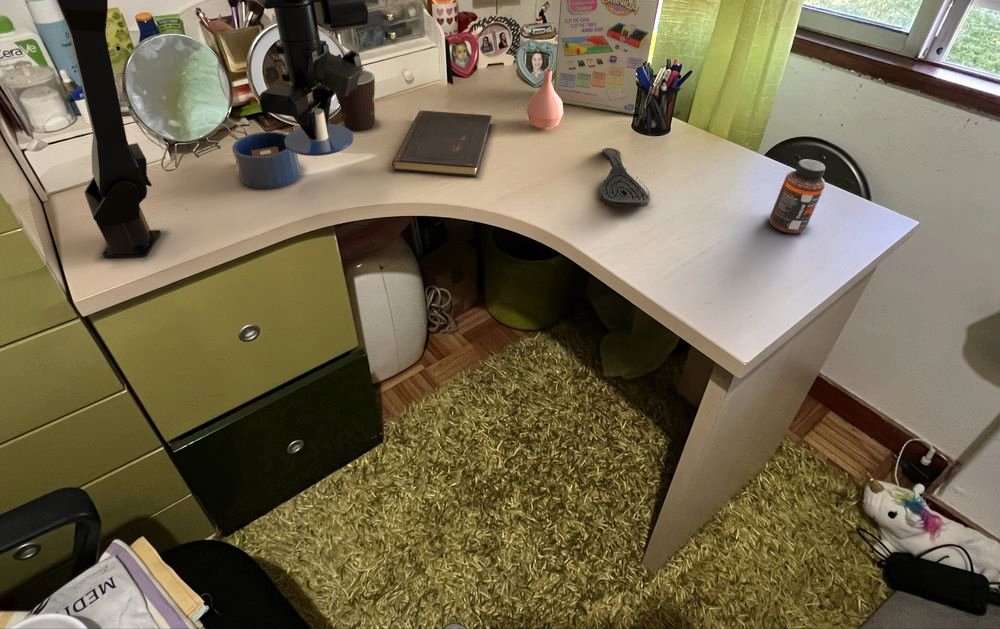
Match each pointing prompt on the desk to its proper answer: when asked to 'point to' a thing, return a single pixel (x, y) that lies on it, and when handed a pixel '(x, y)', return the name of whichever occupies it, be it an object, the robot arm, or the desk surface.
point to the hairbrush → (621, 184)
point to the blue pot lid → (319, 138)
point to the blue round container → (266, 161)
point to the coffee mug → (359, 104)
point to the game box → (604, 51)
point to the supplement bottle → (798, 197)
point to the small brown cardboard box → (265, 152)
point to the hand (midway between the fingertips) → (318, 135)
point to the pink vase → (545, 105)
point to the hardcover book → (444, 144)
